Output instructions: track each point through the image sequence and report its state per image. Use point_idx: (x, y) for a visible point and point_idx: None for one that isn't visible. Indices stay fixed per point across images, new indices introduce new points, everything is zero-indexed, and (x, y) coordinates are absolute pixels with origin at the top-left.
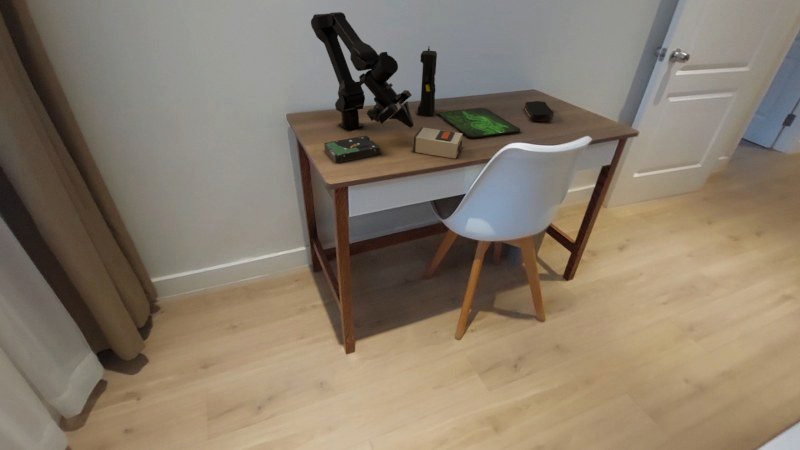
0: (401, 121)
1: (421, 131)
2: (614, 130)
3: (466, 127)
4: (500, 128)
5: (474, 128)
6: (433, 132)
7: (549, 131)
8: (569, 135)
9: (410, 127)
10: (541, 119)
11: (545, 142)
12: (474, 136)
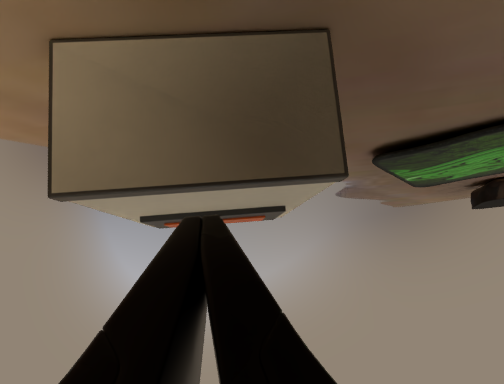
0: (88, 357)
1: (233, 189)
2: (405, 204)
3: (497, 142)
4: (442, 176)
5: (469, 154)
6: (246, 203)
7: (415, 189)
8: (388, 197)
9: (182, 224)
10: (479, 191)
11: (350, 193)
12: (375, 164)
